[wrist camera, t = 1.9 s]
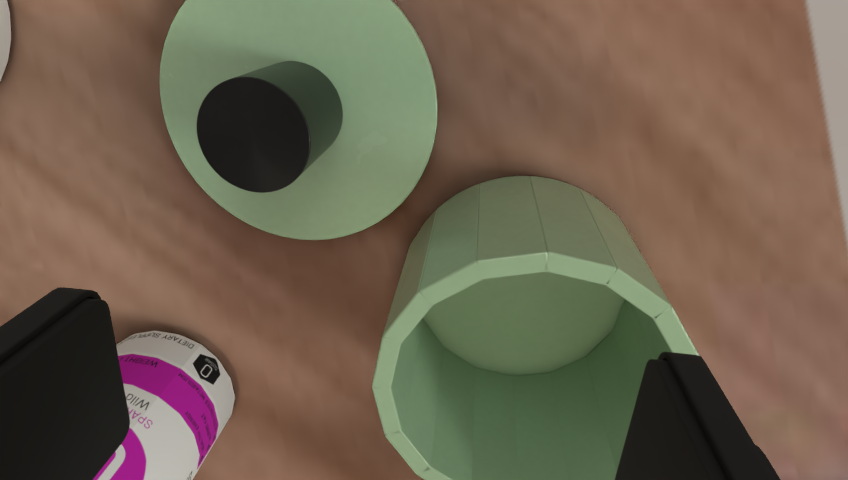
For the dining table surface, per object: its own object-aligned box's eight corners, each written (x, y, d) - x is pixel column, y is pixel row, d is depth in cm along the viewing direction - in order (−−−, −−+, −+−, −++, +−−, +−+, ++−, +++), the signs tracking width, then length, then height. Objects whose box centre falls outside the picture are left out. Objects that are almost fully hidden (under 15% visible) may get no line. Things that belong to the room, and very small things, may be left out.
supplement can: (131, 302, 34) (-108, 511, 20) (257, 361, 35) (109, 600, 21) (101, 396, 37) (-123, 630, 23) (216, 448, 38) (65, 703, 24)
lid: (168, 200, 31) (91, 250, 25) (173, -77, 25) (76, -99, 19) (409, 257, 31) (390, 321, 25) (468, -9, 25) (462, -10, 19)
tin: (386, 352, 34) (351, 477, 25) (430, 150, 28) (406, 218, 20) (593, 401, 33) (631, 543, 25) (676, 207, 28) (759, 300, 20)
